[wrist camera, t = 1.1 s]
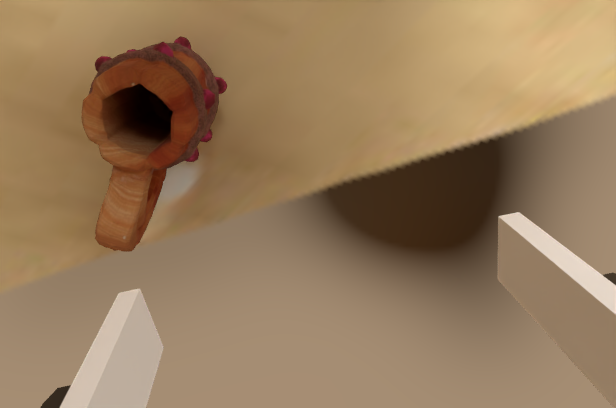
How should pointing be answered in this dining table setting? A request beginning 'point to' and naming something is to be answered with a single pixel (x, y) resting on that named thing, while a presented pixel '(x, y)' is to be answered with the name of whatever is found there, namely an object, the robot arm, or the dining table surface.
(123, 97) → the mug
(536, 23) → the dining table surface
